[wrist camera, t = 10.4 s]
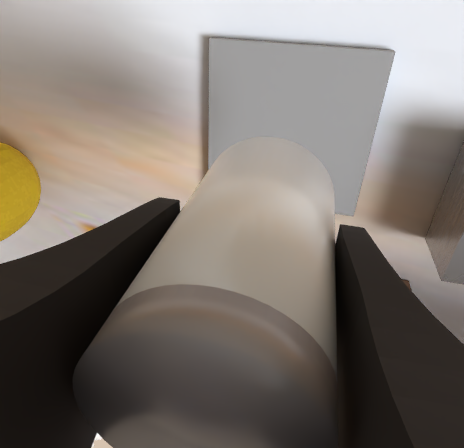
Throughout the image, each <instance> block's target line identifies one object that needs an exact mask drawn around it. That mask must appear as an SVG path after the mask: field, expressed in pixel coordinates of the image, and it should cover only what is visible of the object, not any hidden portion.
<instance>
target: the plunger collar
mask: <svg viewBox="0 0 464 448" xmlns="http://www.w3.org/2000/svg"><path fill="white" fill-rule="evenodd" d="M425 239H426V242H427V244H428V247H429V250H430V252H431V255H432V258H433V260H434V263H435V266H436V268H437V271H438V273H439V276H440V279H441V281H447V282H453V283H459V284H464V141H463V144H462V146H461V149H460V151H459V154H458V157H457V159H456V162H455V164H454V167H453V169H452V172H451V174H450V177H449V179H448V182H447V185H446V187H445V190H444V192H443V195H442V197H441V200H440V202H439V205H438V207H437V210H436V213H435V215H434V218H433V220H432V223H431V225H430V228H429V230H428V233H427V235H426V238H425Z"/></svg>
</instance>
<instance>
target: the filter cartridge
mask: <svg viewBox="0 0 464 448" xmlns="http://www.w3.org/2000/svg"><path fill="white" fill-rule="evenodd" d="M73 392H74V396H75V400H76V402H77V404H78V407H79V409H80V411H81V412H82V414H83V416H84V417H85V419H86V420H87V421H88V423H89V424H90V425H91V427H92V428H93V429H94V430H95V431H96V432H97V433H98V434H99V435H100V436H101V437H102V438H103V439H104V440H105V441H106V442H107V443H108V444H109V445H111V446H112V447H113V448H338V401H337V335H336V269H335V203H334V188H333V184H332V181H331V178H330V176H329V174H328V172H327V170H326V168H325V167H324V165H323V164H322V163H321V162H320V160H319V159H318V158H317V157H316V156H315V155H314V154H312V153H311V152H310V151H309V150H307V149H306V148H304V147H302V146H301V145H299V144H297V143H294V142H292V141H289V140H286V139H282V138H277V137H255V138H250V139H246V140H243V141H240V142H238V143H236V144H234V145H232V146H230V147H229V148H228V149H226V150H225V151H224V152H223V153H222V154H221V155H219V156H218V158H217V159H216V160H215V162H214V163H213V164H212V166H211V167H210V169H209V170H208V172H207V173H206V175H205V176H204V178H203V179H202V181H201V182H200V183H199V185H198V186H197V188H196V189H195V191H194V192H193V194H192V195H191V197H190V198H189V200H188V201H187V203H186V204H185V206H184V207H183V208H182V210H181V211H180V213H179V214H178V216H177V217H176V219H175V220H174V222H173V223H172V225H171V226H170V228H169V229H168V231H167V232H166V233H165V235H164V236H163V238H162V239H161V241H160V242H159V244H158V245H157V247H156V248H155V250H154V251H153V253H152V254H151V255H150V257H149V258H148V260H147V261H146V263H145V264H144V266H143V267H142V269H141V270H140V272H139V273H138V275H137V276H136V278H135V279H134V280H133V282H132V283H131V285H130V286H129V288H128V289H127V291H126V292H125V294H124V295H123V297H122V298H121V300H120V301H119V302H118V304H117V305H116V307H115V308H114V310H113V311H112V313H111V314H110V316H109V317H108V319H107V320H106V322H105V323H104V325H103V326H102V327H101V329H100V330H99V332H98V333H97V335H96V336H95V338H94V339H93V341H92V342H91V344H90V345H89V347H88V348H87V350H86V351H85V352H84V354H83V355H82V357H81V358H80V360H79V361H78V363H77V365H76V368H75V370H74V374H73Z"/></svg>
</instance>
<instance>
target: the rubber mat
mask: <svg viewBox="0 0 464 448" xmlns="http://www.w3.org/2000/svg"><path fill="white" fill-rule="evenodd" d="M394 55H395V51H394V50H383V49H369V48H355V47H341V46H327V45H314V44H300V43H286V42H272V41H258V40H244V39H231V38H217V37H211V38H209V138H208V170H209V169H210V167H211V166H212V164H213V163H214V162H215V160H216V159H217V158H218V156H219V155H221V154H222V153H223V152H224V151H225V150H226V149H228V148H229V147H230V146H232V145H234V144H236V143H238V142H240V141H243V140H246V139H250V138H255V137H277V138H282V139H286V140H289V141H292V142H294V143H297V144H299V145H301V146H302V147H304V148H306V149H307V150H309V151H310V152H311V153H312V154H314V155H315V156H316V157H317V158H318V159H319V160H320V162H321V163H322V164H323V165H324V167H325V168H326V170H327V172H328V174H329V176H330V178H331V181H332V184H333V188H334V203H335V214H341V215H347V216H354V212H355V208H356V204H357V200H358V196H359V193H360V189H361V185H362V181H363V177H364V173H365V169H366V165H367V161H368V157H369V153H370V149H371V145H372V142H373V138H374V134H375V130H376V126H377V122H378V118H379V114H380V110H381V106H382V102H383V98H384V95H385V91H386V87H387V83H388V79H389V75H390V71H391V67H392V63H393V59H394Z"/></svg>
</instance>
